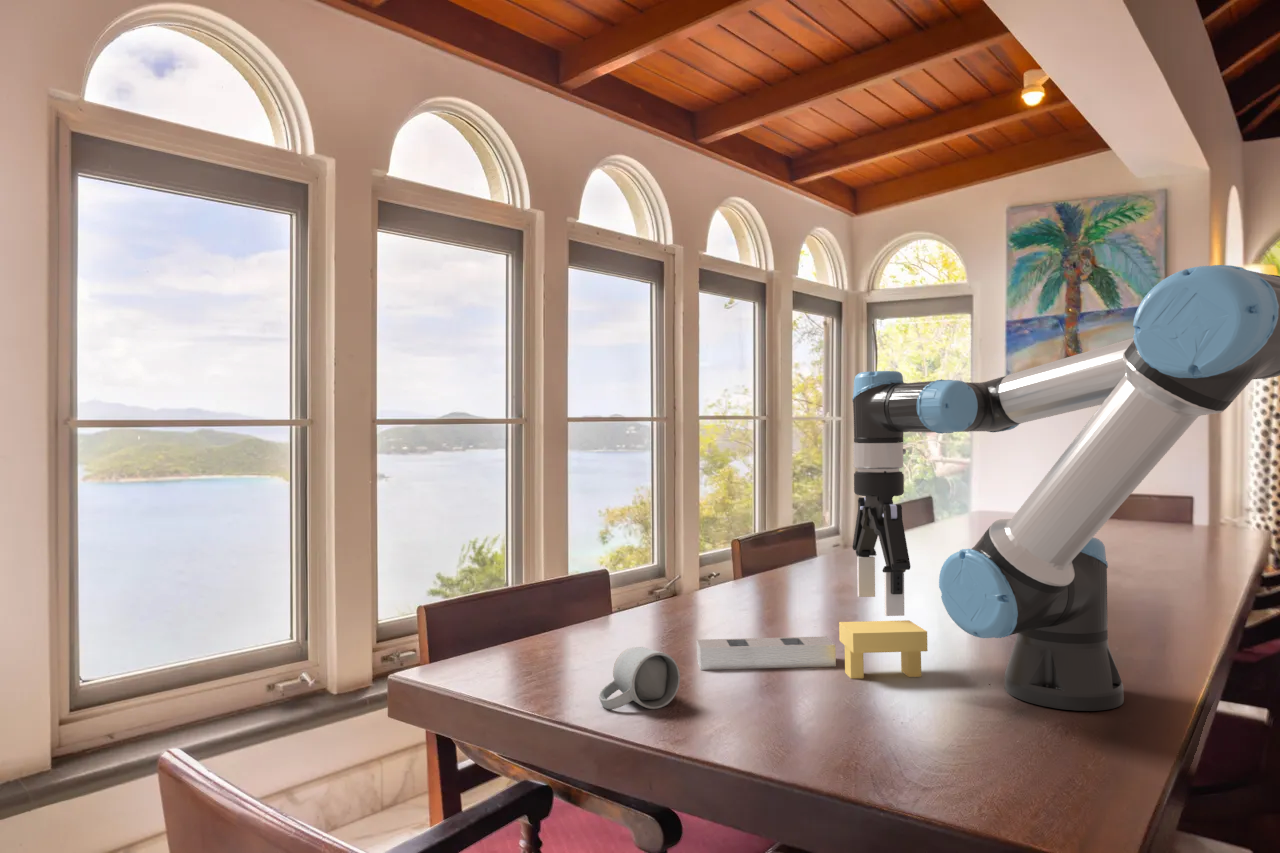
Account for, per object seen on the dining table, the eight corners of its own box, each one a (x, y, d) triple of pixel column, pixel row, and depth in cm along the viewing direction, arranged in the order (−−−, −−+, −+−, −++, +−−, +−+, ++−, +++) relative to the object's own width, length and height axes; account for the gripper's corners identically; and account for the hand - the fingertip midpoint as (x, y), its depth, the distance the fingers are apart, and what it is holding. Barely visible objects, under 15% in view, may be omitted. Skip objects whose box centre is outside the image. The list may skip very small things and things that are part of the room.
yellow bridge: (928, 680, 126) (927, 631, 126) (853, 682, 126) (852, 633, 126) (910, 667, 134) (909, 620, 134) (839, 668, 133) (839, 622, 133)
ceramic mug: (654, 689, 124) (652, 637, 124) (682, 704, 117) (680, 649, 117) (589, 702, 119) (587, 648, 119) (614, 718, 112) (612, 661, 112)
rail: (835, 666, 135) (835, 644, 135) (700, 669, 134) (700, 648, 134) (826, 657, 140) (826, 636, 140) (697, 660, 140) (696, 639, 140)
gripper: (933, 474, 118) (934, 623, 118) (876, 465, 143) (877, 589, 143) (880, 475, 118) (882, 624, 118) (833, 466, 143) (834, 590, 143)
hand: (879, 605), depth 130 cm, fingers open, 13 cm apart
